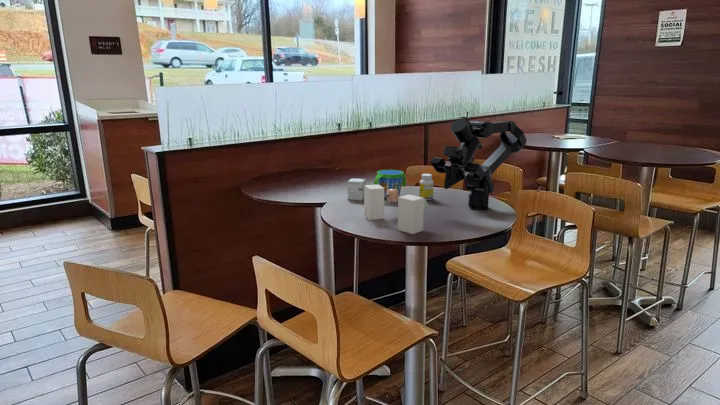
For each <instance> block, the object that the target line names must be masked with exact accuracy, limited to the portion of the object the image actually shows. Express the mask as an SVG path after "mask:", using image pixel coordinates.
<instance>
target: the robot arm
mask: <svg viewBox="0 0 720 405" xmlns="http://www.w3.org/2000/svg"><path fill="white" fill-rule="evenodd" d="M450 131H451V132H452V134H453V135H454V137H455V139H456V140H457V142H458V143H460V145H459V146H455V145H448V144H447V145H445V146H444V149H443V153H442V155H443V156H446V158H447V161H445V159H444V157H436V156H435V157H432V158H431V161H430V165H431V166H432V167H433V169H434V170H435V171H436V172H437V173H440V174H445V178H444V184H443V188H444V190H448V189H450V188H452V187H453V186H454V185H456V184H457V183H459V182H461V181H463V180H464V185H465V190H466V191H469V193H468V195H467V205H468V207H469V209H470V210H490V207H489V200H490V199H489V198H490V197H489V195H490V194H492V193H493V192H494V190H495V185H494V182H493V181H492V175H493V174H494V173H495V172H496V171H497V170H498V168H500V166H501V165H502V164H503V163H504V162H505V161H506V160H507V159H508V157H510V155H513V154H515V153H518V152H520V151H521V150H522V149H523V148H525V146H526V144H527V137H526V135H525V133H524V131H523V130H522V129H521V128H519V126H518V125H517V124H516V122H515V121H513V120H507V119H506V120H505V119H503V120H499V121H497V120H496V121H486V120H485V121H483V120H470V121H469V118H468V116H461V117H460V118H459V119H456V120H455V121H454V122H452V123H451V124H450ZM493 134H499V136H498V137H499V139H500V144H499V147H498V148H497V149H496V150H495V151H493V153H492V154H490V156H489V157H488V158H487V159H486V160H484V162H483V163H482V164H480V163H478V162H474V160H475V159H474V156H475V154H476V152H477V150H482V149H483V145H482V141H481V140H479V139H488V138H490V137H491V136H492V135H493Z"/></svg>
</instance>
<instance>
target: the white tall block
mask: <svg viewBox="0 0 720 405" xmlns="http://www.w3.org/2000/svg"><path fill="white" fill-rule="evenodd" d="M363 200H364V201H363V202H364V203H363V206H364V207H363V208H364V212H363V215H364V216H365V217H366V218H367V220H369V221H372V220H374V221H375V220H382V219H384V218H385V198H384V188H383V187H382V186H380V185H379V183H378V184H377V185H374V184H366V185H364V199H363Z"/></svg>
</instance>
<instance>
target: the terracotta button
mask: <svg viewBox="0 0 720 405" xmlns="http://www.w3.org/2000/svg"><path fill="white" fill-rule="evenodd" d="M398 197H400V196H399V194H398V190H397V189H388V190H387V193H386V194H384V199H386V198H387V199H386V200H387V203H398Z"/></svg>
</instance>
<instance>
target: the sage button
mask: <svg viewBox="0 0 720 405" xmlns="http://www.w3.org/2000/svg"><path fill="white" fill-rule="evenodd" d="M428 209H429V205H428V200H425V199H424V212H423V213H425V212H427V210H428Z"/></svg>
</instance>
